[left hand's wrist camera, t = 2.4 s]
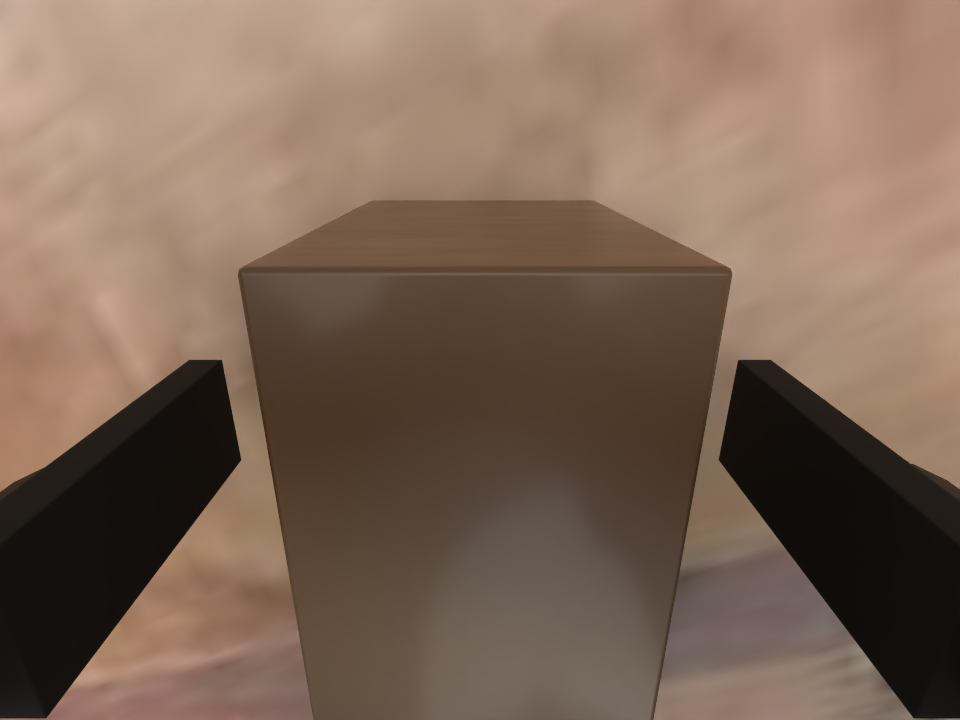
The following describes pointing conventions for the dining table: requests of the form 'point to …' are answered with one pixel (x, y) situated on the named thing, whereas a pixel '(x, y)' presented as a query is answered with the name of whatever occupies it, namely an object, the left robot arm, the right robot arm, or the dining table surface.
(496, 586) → the bar
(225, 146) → the dining table surface
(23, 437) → the dining table surface
